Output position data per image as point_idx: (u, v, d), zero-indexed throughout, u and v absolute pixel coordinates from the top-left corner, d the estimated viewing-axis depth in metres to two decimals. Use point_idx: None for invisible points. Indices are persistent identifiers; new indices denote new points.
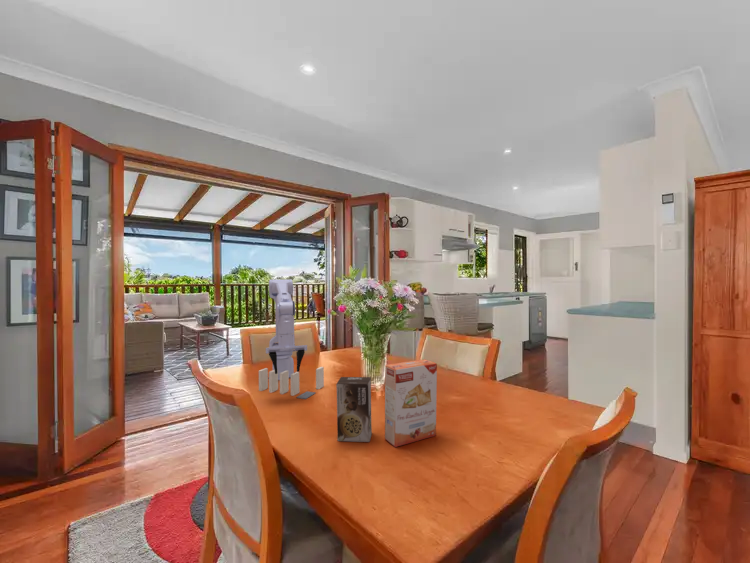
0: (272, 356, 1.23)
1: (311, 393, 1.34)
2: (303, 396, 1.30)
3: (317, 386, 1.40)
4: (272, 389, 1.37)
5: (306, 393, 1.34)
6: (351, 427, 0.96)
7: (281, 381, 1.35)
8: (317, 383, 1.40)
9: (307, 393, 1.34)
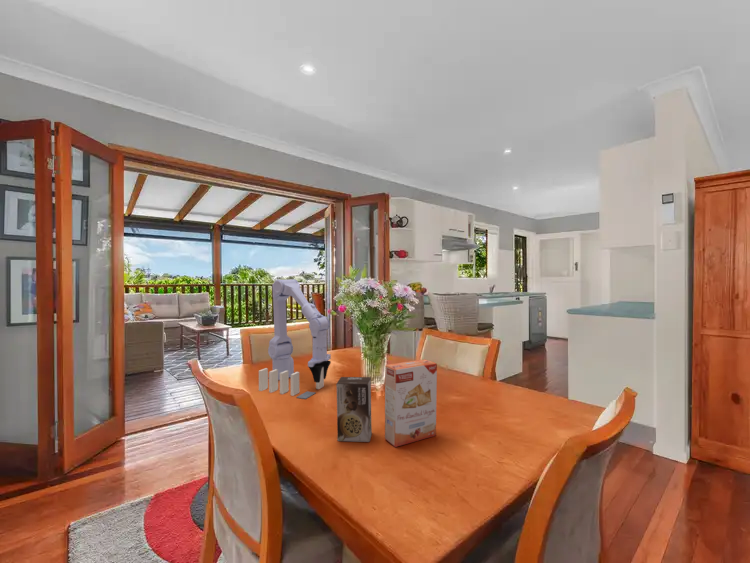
0: (320, 368, 1.38)
1: (311, 393, 1.34)
2: (303, 396, 1.30)
3: (317, 386, 1.40)
4: (272, 389, 1.37)
5: (306, 393, 1.34)
6: (351, 427, 0.96)
7: (281, 381, 1.35)
8: (317, 383, 1.40)
9: (307, 393, 1.34)
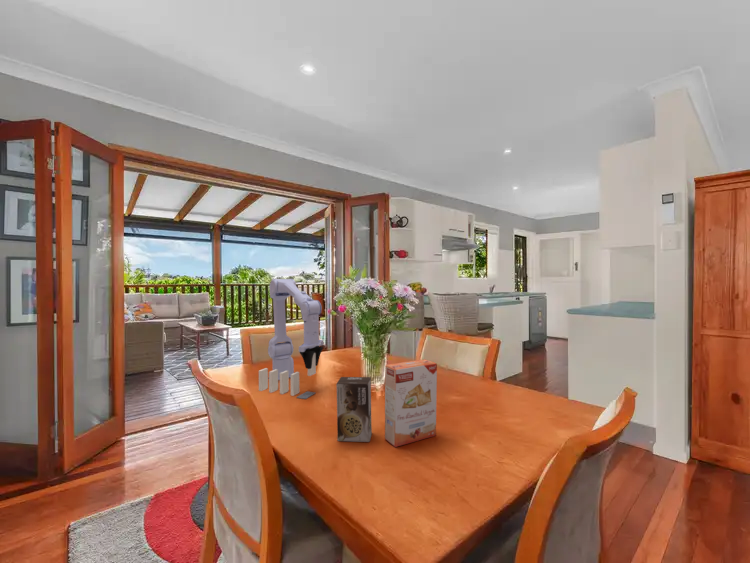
0: (312, 353, 1.32)
1: (311, 393, 1.34)
2: (303, 396, 1.30)
3: (309, 373, 1.34)
4: (272, 389, 1.37)
5: (306, 393, 1.34)
6: (351, 427, 0.96)
7: (281, 381, 1.35)
8: (309, 369, 1.34)
9: (307, 393, 1.34)
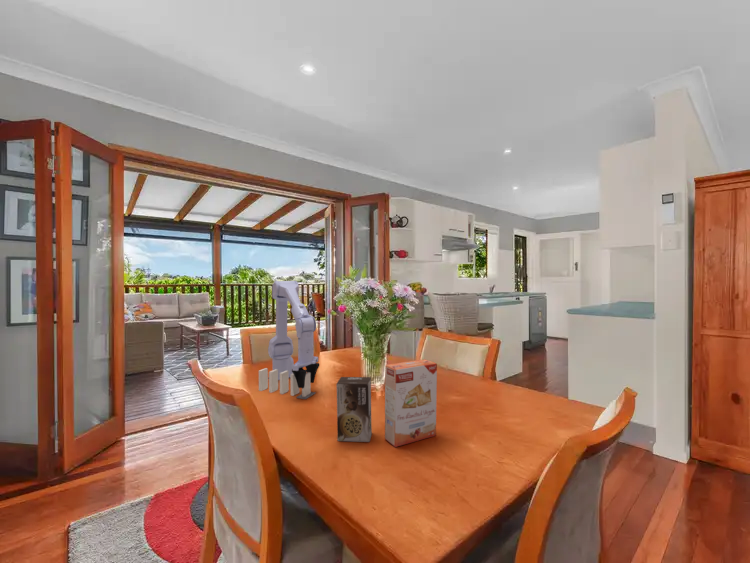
0: (304, 372, 1.27)
1: (311, 393, 1.34)
2: (302, 396, 1.30)
3: (303, 393, 1.31)
4: (272, 389, 1.37)
5: None
6: (351, 427, 0.96)
7: (281, 381, 1.35)
8: (303, 390, 1.31)
9: None
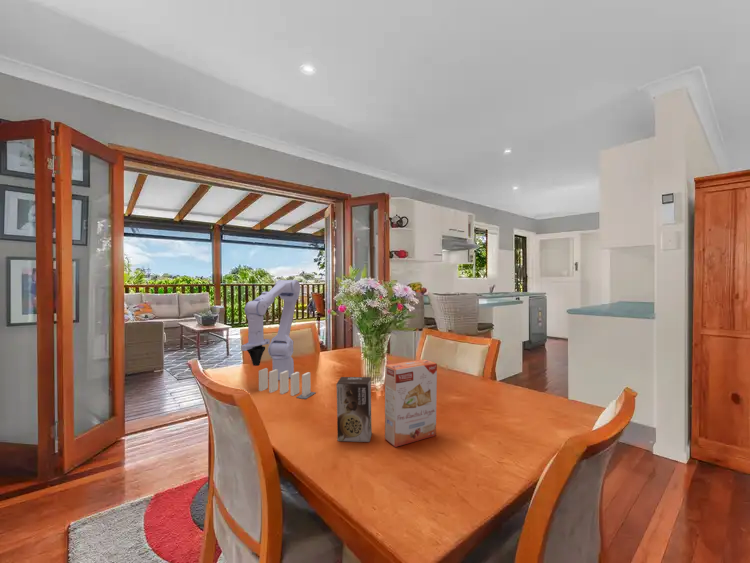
0: (258, 351, 1.37)
1: (311, 393, 1.34)
2: (302, 396, 1.30)
3: (303, 393, 1.31)
4: (272, 389, 1.37)
5: None
6: (351, 427, 0.96)
7: (281, 381, 1.35)
8: (303, 390, 1.31)
9: None
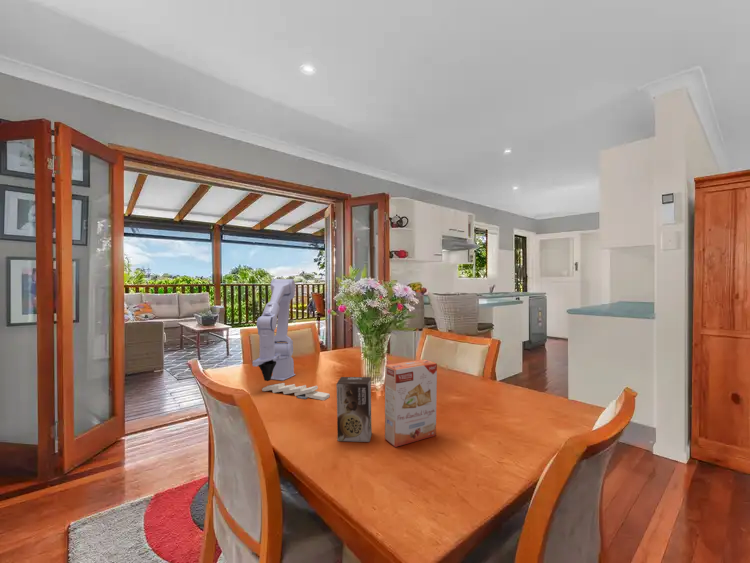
0: (269, 366, 1.37)
1: None
2: (303, 396, 1.30)
3: (307, 395, 1.30)
4: (275, 392, 1.36)
5: None
6: (351, 427, 0.96)
7: (293, 391, 1.33)
8: (310, 396, 1.30)
9: None
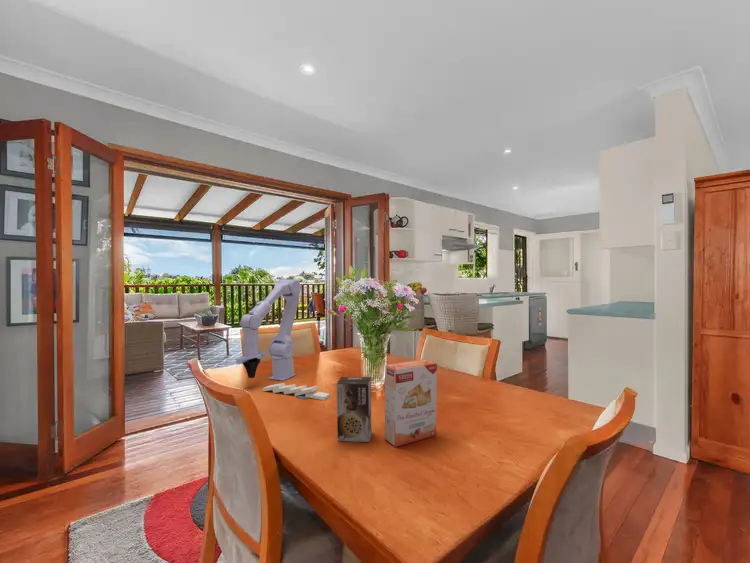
0: (253, 363, 1.40)
1: None
2: (303, 396, 1.30)
3: (307, 395, 1.30)
4: None
5: None
6: (351, 427, 0.96)
7: (293, 391, 1.32)
8: (310, 396, 1.30)
9: None
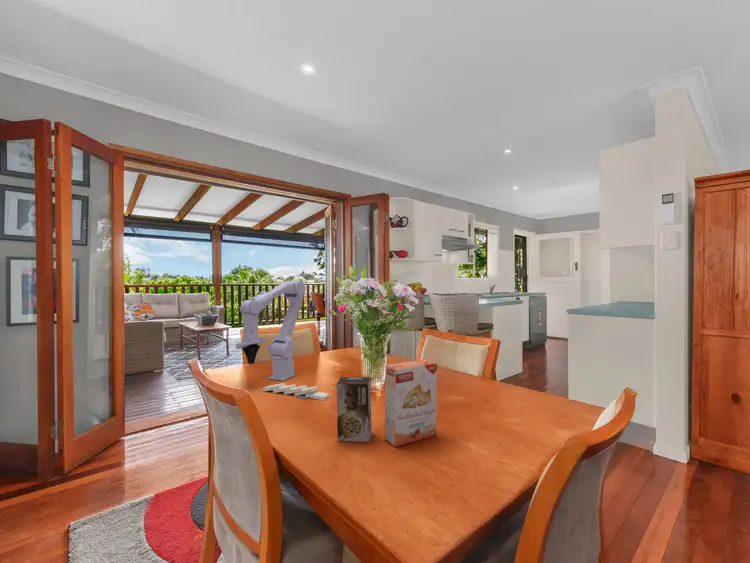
0: (253, 349, 1.40)
1: None
2: (303, 396, 1.30)
3: (307, 395, 1.30)
4: None
5: None
6: (351, 427, 0.96)
7: (294, 391, 1.32)
8: (310, 396, 1.30)
9: None
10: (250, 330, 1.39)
